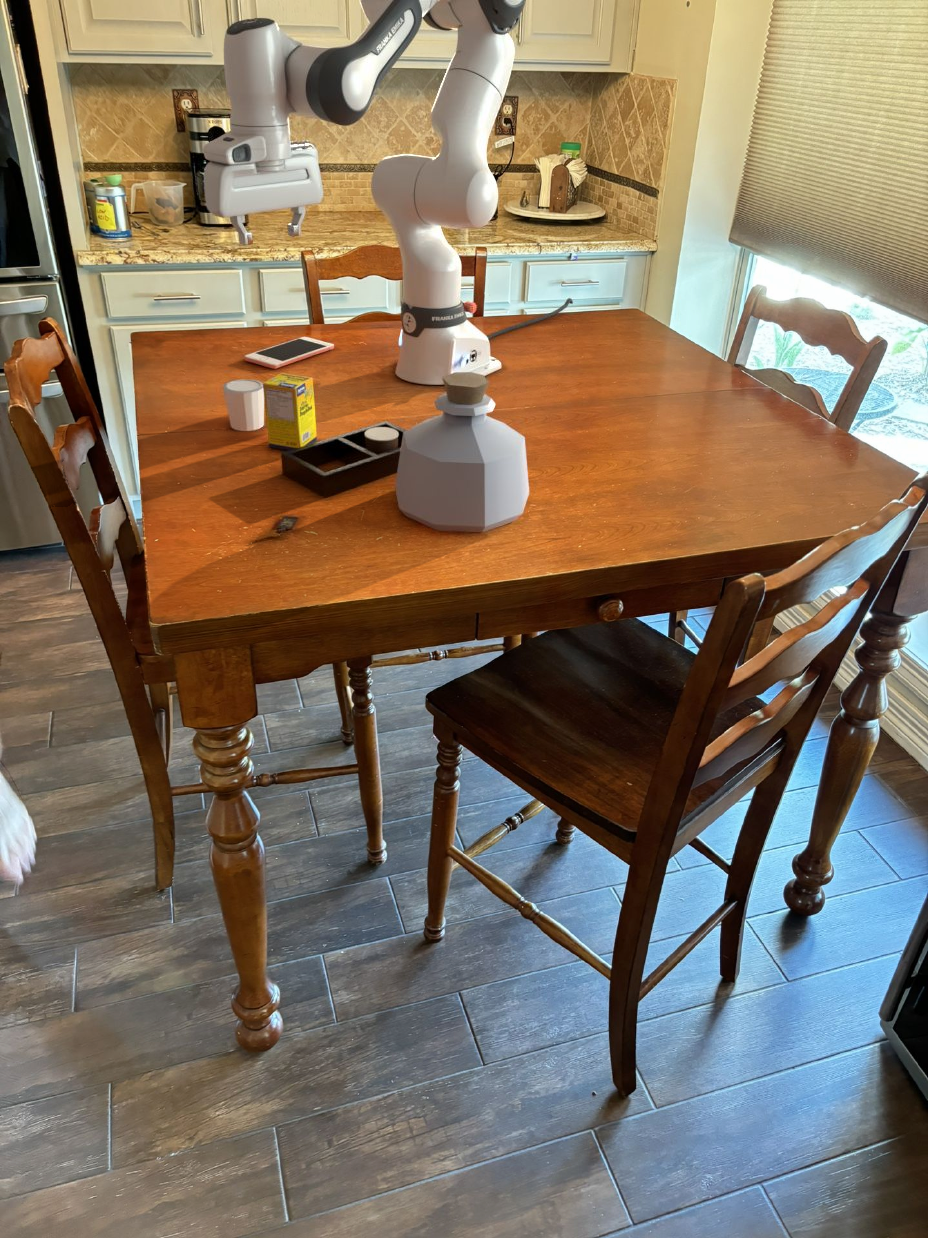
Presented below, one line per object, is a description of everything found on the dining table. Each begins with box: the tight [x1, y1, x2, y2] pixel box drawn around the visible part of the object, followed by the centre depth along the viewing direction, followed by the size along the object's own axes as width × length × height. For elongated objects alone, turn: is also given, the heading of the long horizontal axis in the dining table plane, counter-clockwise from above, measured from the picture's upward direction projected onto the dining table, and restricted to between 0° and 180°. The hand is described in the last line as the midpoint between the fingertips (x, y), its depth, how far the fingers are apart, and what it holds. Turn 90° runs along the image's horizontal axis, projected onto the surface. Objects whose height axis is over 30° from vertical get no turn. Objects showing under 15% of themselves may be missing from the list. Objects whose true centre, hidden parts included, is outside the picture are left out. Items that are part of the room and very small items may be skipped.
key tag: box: [255, 515, 299, 542], centre depth 125 cm, size 8×3×1 cm, turn 159°
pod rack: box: [280, 420, 407, 499], centre depth 143 cm, size 21×11×4 cm, turn 134°
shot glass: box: [222, 378, 265, 432], centre depth 155 cm, size 7×7×7 cm
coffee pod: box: [365, 427, 399, 455], centre depth 146 cm, size 5×5×4 cm
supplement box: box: [263, 372, 318, 451], centre depth 148 cm, size 6×6×11 cm
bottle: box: [394, 372, 530, 533], centre depth 129 cm, size 20×20×19 cm
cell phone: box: [244, 336, 335, 370], centre depth 189 cm, size 9×18×1 cm, turn 145°
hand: (270, 239), depth 148 cm, fingers open, 8 cm apart
